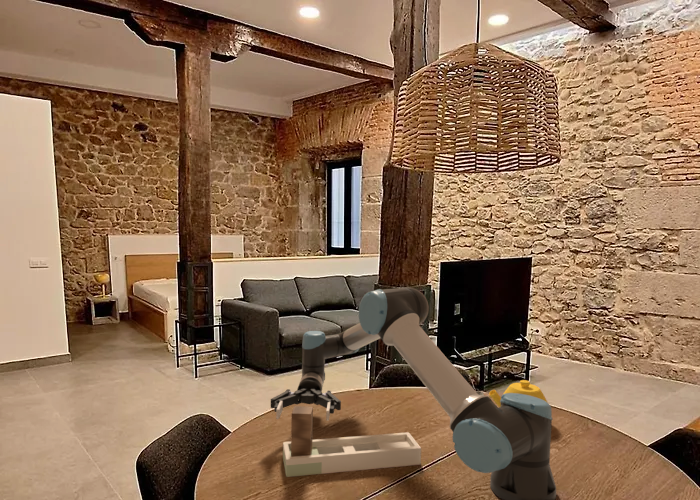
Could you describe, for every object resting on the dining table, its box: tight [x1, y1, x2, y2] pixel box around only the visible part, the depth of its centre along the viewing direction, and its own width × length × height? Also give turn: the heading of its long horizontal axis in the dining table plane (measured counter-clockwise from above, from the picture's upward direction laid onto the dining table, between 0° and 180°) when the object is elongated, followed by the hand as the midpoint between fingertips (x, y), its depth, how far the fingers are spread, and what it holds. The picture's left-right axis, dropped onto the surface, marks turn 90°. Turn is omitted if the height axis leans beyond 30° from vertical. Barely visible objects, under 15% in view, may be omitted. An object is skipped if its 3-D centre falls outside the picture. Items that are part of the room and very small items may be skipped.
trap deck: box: [282, 431, 422, 478], centre depth 132 cm, size 36×10×4 cm, turn 103°
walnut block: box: [290, 405, 314, 457], centre depth 128 cm, size 5×5×12 cm
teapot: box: [488, 379, 548, 408], centre depth 160 cm, size 20×16×14 cm
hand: (302, 415), depth 132 cm, fingers open, 13 cm apart
